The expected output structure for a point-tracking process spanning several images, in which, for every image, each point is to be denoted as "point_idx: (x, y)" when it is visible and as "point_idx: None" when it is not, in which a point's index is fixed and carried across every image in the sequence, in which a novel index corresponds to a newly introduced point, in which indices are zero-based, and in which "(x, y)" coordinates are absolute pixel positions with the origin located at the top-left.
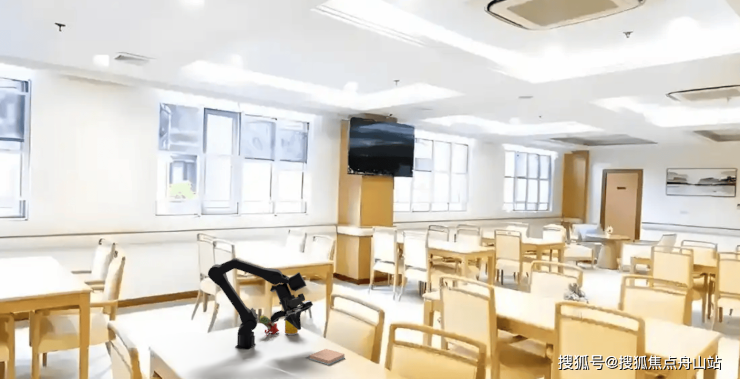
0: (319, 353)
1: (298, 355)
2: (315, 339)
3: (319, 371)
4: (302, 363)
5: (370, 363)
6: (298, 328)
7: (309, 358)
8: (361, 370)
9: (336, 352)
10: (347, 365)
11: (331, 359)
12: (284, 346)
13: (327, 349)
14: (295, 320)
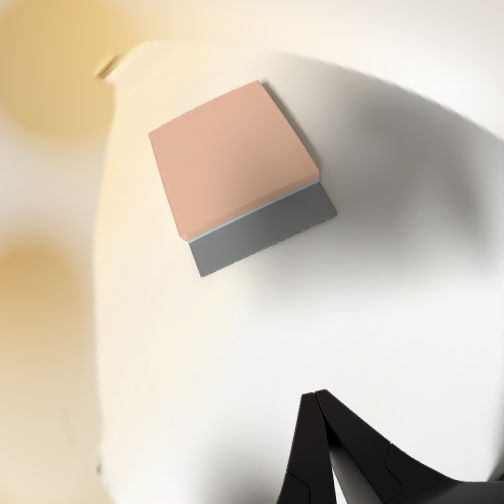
0: (252, 174)
1: (352, 283)
2: (145, 476)
3: (321, 67)
4: (369, 158)
5: (120, 92)
6: (334, 403)
7: (316, 189)
8: (182, 51)
9: (165, 160)
10: (192, 86)
11: (238, 88)
12: None
13: (178, 219)
14: (387, 469)
